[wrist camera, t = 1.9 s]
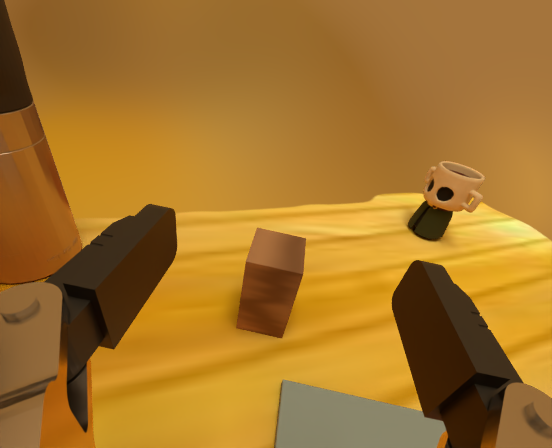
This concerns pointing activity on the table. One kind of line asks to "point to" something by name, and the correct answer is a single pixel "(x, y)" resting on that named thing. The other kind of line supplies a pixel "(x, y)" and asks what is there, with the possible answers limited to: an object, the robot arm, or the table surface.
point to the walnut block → (270, 282)
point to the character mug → (446, 197)
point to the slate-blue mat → (348, 421)
